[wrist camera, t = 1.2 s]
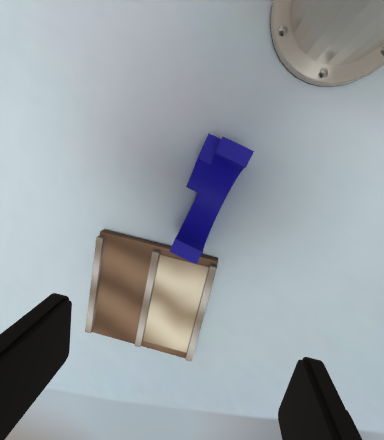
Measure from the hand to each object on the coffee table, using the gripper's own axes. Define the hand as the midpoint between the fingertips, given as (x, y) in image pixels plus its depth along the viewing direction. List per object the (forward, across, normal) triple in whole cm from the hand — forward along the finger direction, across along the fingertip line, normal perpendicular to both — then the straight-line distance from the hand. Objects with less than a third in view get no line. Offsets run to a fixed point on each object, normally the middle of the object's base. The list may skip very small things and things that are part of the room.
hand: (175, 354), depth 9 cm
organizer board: (+20, +6, +11) cm, 23 cm away
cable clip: (+20, +1, -3) cm, 21 cm away
